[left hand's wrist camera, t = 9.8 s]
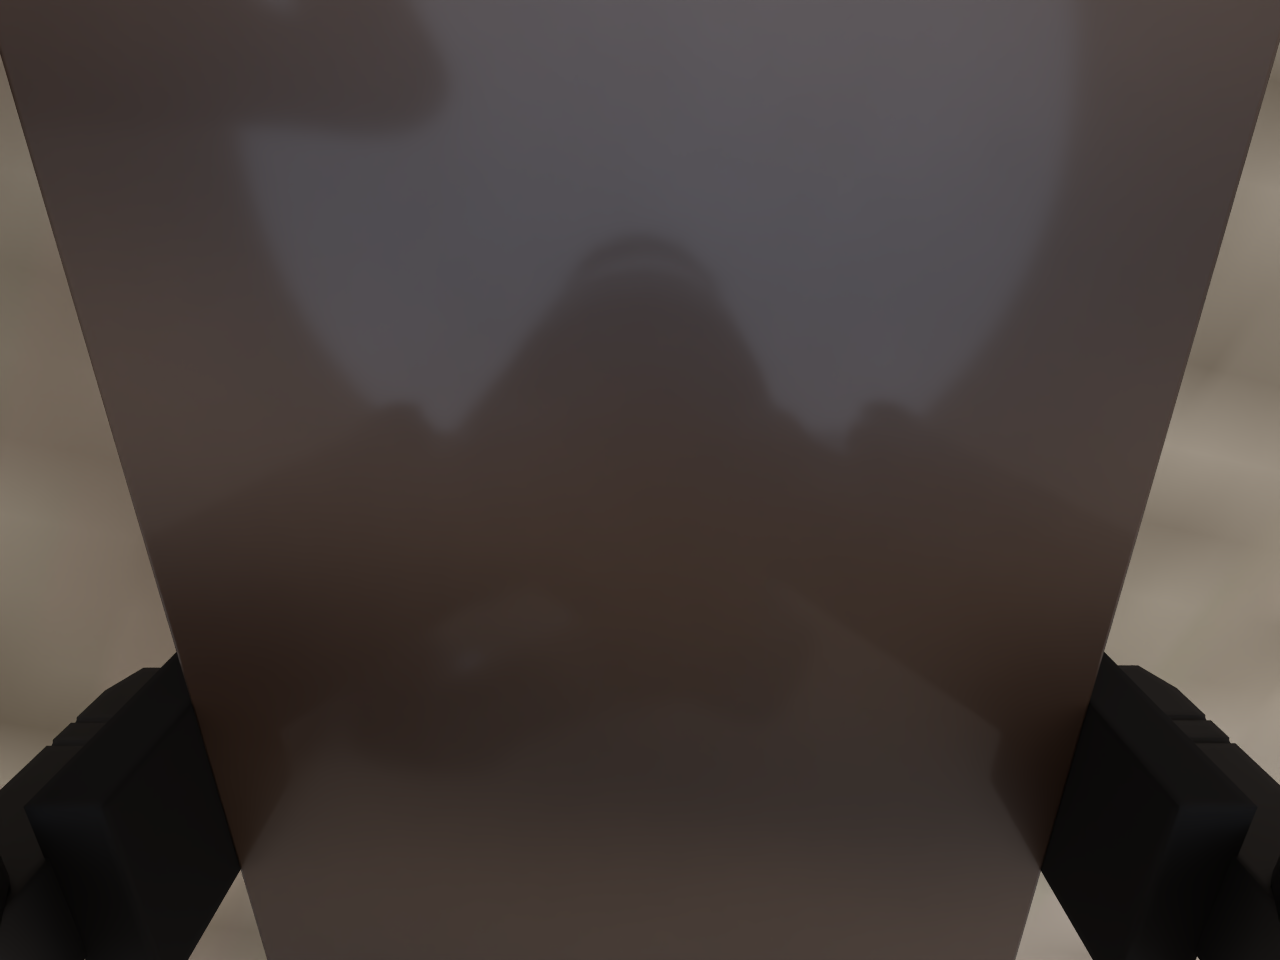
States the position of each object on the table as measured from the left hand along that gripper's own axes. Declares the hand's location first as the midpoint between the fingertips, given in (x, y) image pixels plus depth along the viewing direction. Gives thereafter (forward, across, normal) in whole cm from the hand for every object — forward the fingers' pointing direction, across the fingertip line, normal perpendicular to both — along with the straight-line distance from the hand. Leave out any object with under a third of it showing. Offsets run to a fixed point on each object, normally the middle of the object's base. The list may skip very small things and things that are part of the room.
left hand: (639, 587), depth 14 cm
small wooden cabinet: (+7, 0, +7) cm, 10 cm away
